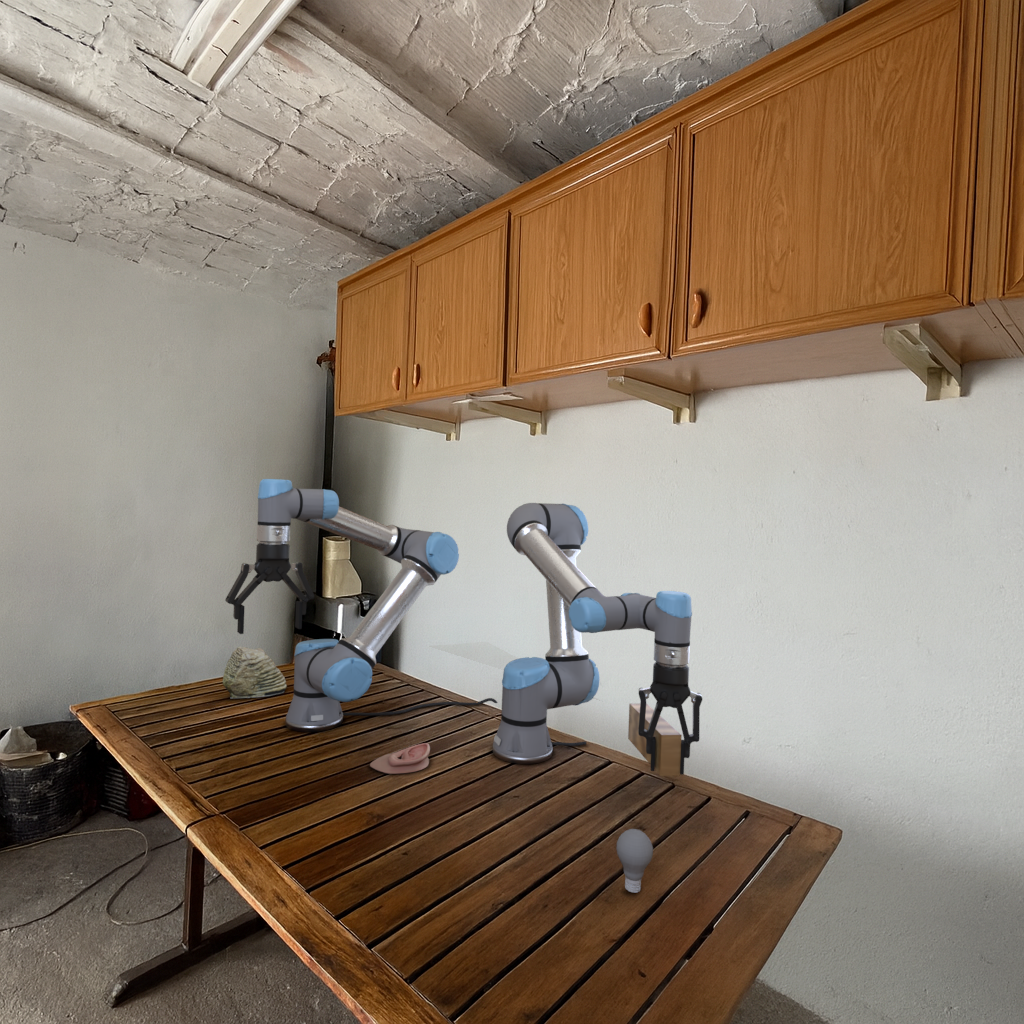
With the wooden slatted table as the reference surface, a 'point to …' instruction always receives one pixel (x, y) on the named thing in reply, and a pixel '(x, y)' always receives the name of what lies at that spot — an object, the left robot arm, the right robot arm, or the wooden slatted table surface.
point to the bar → (657, 741)
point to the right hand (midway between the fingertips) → (666, 769)
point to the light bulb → (634, 857)
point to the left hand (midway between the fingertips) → (270, 630)
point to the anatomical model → (404, 760)
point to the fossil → (252, 674)
